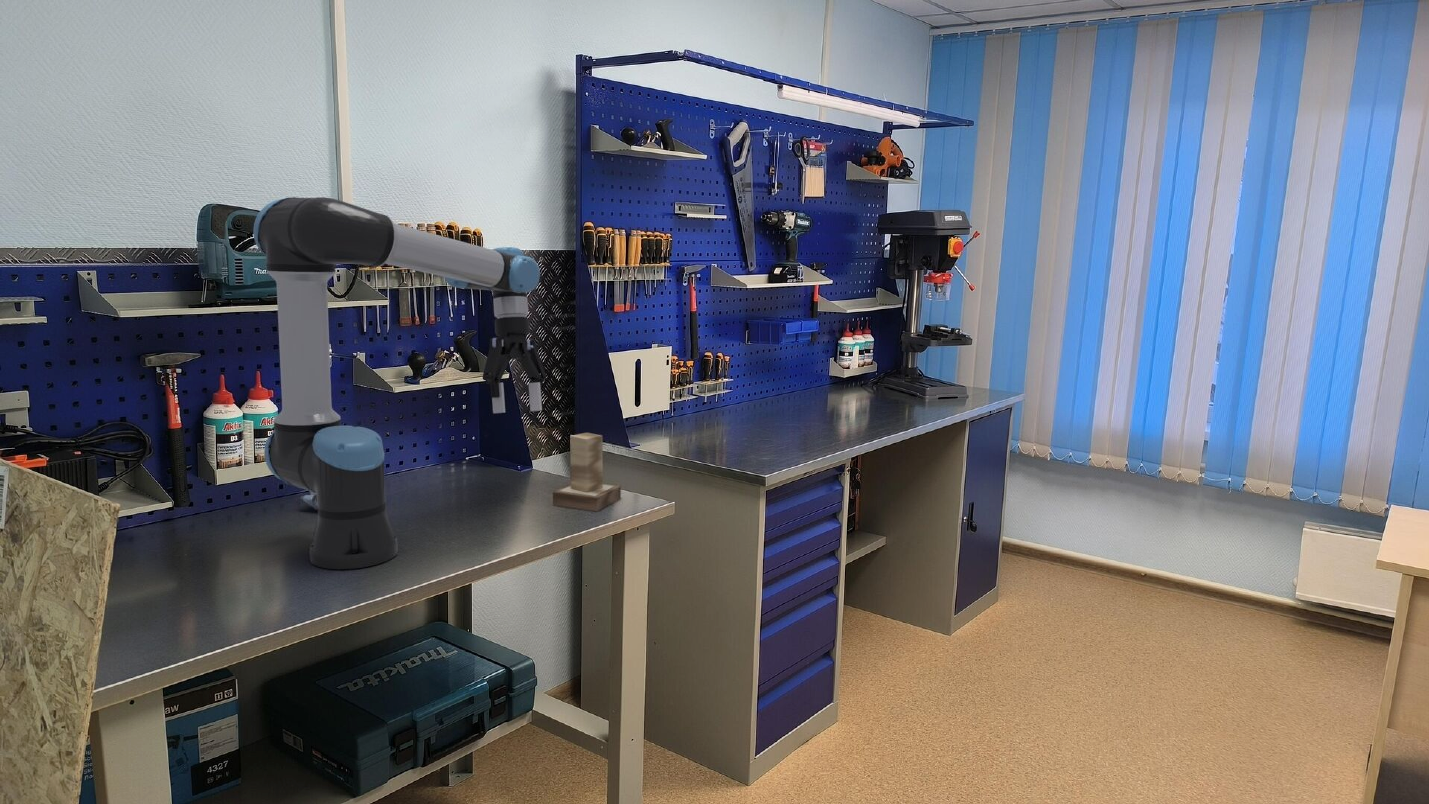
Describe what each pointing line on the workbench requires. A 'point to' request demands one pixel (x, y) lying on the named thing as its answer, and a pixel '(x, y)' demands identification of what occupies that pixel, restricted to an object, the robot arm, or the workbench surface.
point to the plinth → (587, 497)
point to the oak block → (586, 462)
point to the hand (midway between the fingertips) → (518, 412)
